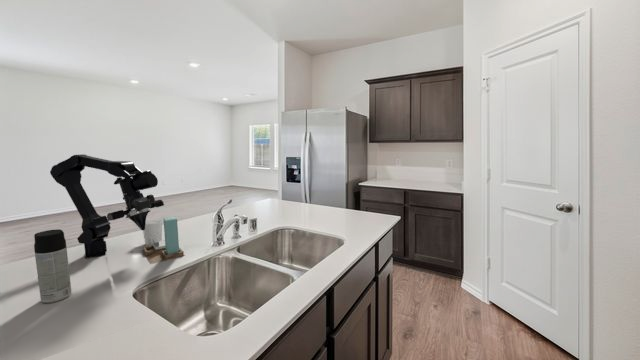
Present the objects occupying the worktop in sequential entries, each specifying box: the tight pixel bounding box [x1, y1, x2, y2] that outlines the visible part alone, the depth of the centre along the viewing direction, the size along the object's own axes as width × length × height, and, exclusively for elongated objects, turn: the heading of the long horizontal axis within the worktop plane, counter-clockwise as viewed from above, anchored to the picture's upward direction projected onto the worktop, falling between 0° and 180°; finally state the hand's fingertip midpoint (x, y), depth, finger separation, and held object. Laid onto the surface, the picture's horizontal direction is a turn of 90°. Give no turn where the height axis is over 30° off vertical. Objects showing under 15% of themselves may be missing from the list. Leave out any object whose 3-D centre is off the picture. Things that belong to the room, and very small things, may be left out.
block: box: [162, 216, 180, 255], centre depth 110 cm, size 4×4×15 cm
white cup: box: [142, 219, 163, 246], centre depth 127 cm, size 8×8×10 cm
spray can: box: [33, 228, 72, 304], centre depth 80 cm, size 7×7×20 cm
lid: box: [151, 238, 166, 250], centre depth 117 cm, size 7×7×3 cm
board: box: [141, 244, 186, 265], centre depth 113 cm, size 12×18×2 cm, turn 41°
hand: (143, 230), depth 110 cm, fingers closed
